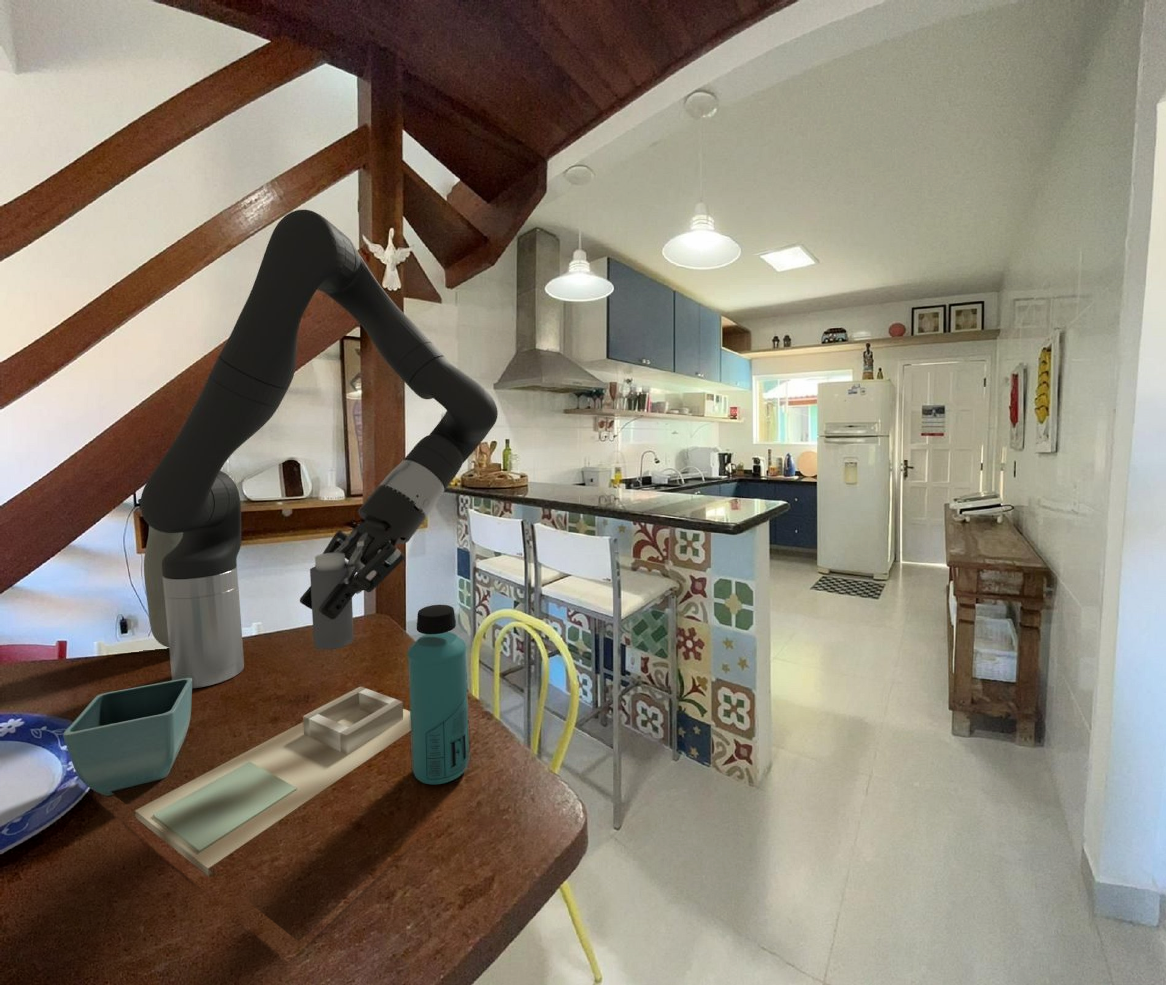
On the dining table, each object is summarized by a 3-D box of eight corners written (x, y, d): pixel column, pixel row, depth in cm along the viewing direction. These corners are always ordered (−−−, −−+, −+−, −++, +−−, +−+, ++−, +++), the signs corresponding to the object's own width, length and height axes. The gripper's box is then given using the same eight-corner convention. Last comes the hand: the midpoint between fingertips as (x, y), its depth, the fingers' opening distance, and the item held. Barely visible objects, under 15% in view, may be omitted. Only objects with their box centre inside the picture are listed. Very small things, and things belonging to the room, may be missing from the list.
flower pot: (69, 817, 49) (59, 734, 48) (105, 765, 57) (97, 693, 56) (179, 789, 53) (172, 712, 52) (199, 744, 61) (193, 676, 60)
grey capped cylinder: (305, 645, 59) (301, 557, 58) (338, 632, 63) (334, 549, 62) (329, 653, 57) (325, 562, 56) (361, 639, 61) (358, 554, 60)
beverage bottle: (455, 803, 51) (450, 622, 49) (398, 793, 53) (392, 616, 50) (480, 763, 58) (477, 601, 55) (429, 755, 59) (424, 596, 57)
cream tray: (135, 817, 49) (132, 787, 49) (359, 697, 72) (358, 676, 71) (208, 876, 42) (205, 842, 42) (428, 723, 65) (428, 700, 65)
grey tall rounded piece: (146, 646, 88) (132, 494, 85) (215, 630, 96) (204, 490, 93) (157, 663, 82) (141, 499, 79) (229, 644, 90) (218, 494, 86)
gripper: (356, 479, 68) (265, 583, 60) (416, 487, 59) (319, 609, 51) (392, 512, 73) (312, 612, 64) (452, 523, 64) (369, 640, 56)
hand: (316, 610), depth 58 cm, fingers closed on grey capped cylinder, 4 cm apart
